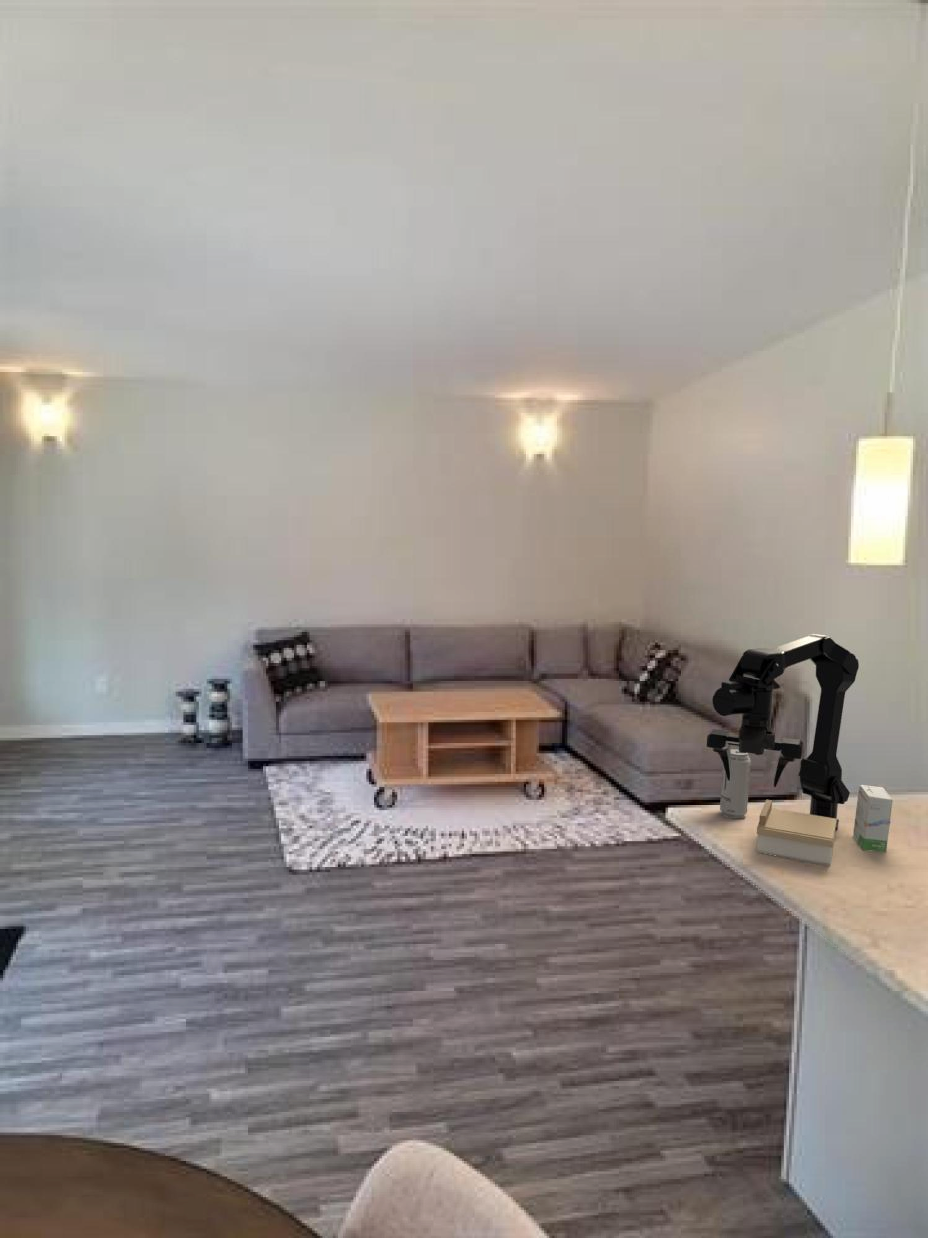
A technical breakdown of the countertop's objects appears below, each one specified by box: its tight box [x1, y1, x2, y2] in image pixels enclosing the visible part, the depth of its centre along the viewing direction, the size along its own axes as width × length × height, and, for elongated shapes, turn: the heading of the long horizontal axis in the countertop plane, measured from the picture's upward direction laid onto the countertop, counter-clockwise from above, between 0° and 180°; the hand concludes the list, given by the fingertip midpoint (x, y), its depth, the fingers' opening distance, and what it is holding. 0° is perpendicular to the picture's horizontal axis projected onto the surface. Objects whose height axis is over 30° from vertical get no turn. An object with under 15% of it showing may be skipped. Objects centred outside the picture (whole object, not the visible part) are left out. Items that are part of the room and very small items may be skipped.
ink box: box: [852, 784, 894, 853], centre depth 186 cm, size 9×5×12 cm, turn 168°
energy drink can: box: [719, 748, 752, 819], centre depth 202 cm, size 6×6×15 cm
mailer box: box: [756, 834, 835, 867], centre depth 183 cm, size 12×14×5 cm
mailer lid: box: [756, 799, 838, 848], centre depth 182 cm, size 14×14×4 cm
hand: (751, 783), depth 184 cm, fingers open, 9 cm apart
